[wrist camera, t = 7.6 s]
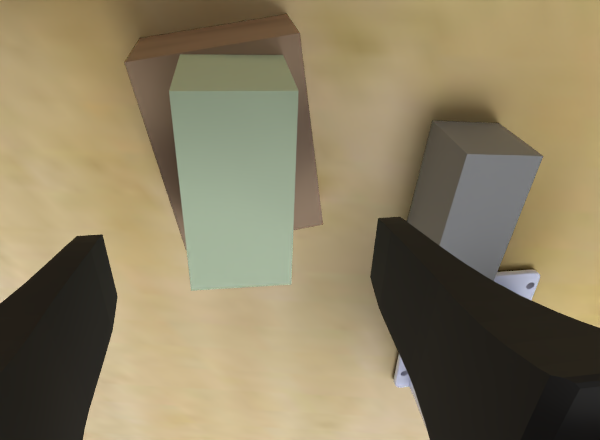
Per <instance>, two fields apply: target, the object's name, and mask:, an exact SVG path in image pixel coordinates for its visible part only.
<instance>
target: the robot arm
mask: <svg viewBox="0 0 600 440" xmlns="http://www.w3.org/2000/svg"><path fill="white" fill-rule="evenodd" d="M370 277H371V281H372V285H373V288H374V292H375V296H376V299H377V302H378V306H379V309H380V311H381V313H382V316H383V318H384V320H385V323H386V325H387V327H388V330H389V332H390V334H391V336H392V339H393V341H394V343H395V345H396V348H397V350H398V352H399V356H398V361H397V366H396V371H395V376H394V383H395V385H396V386H397V387H409V386H410V389H411V391H412V394H413V396H414V399H415V401H416V404H417V406H418V409H419V411H420V414H421V416H422V419H423V421H424V424H425V426H426V428H427V431H428V434H429V438H430V440H600V328H598V327H595V326H592V325H589V324H587V323H584V322H581V321H578V320H576V319H573V318H571V317H568V316H566V315H563V314H561V313H558V312H556V311H554V310H551V309H549V308H547V307H545V306H542V305H540V304H538V303H535V302H533V301H531V300H532V297H533V295H534V292H535V290H536V287H537V284H538V282H539V279H540V275H539V273H538V272H537V271H536V270H532V269H531V270H518V271H505V272H497V274H496V277H495V279H494V281H493V280H491V279H489V278H488V277H486V276H484V275H483V274H481V273H480V272H478V271H476V270H475V269H473V268H472V267H470V266H468V265H467V264H465V263H464V262H462V261H461V260H459V259H458V258H456V257H455V256H453V255H452V254H451V253H449V252H448V251H446V250H445V249H444V248H442V247H441V246H439V245H438V244H437V243H435V242H434V241H433V240H431V239H430V238H428V237H427V236H426V235H424V234H423V233H422V232H420V231H419V230H418V229H416V228H415V227H414V226H412V225H411V224H409V223H408V222H407V221H405V220H404V219H402V218H401V217H391V218H378V224H377V231H376V239H375V246H374V254H373V261H372V269H371V276H370ZM116 303H117V292H116V288H115V284H114V280H113V276H112V272H111V268H110V264H109V260H108V256H107V251H106V247H105V243H104V239H103V235H88V236H77V237H76V238H74V239H73V240H72V241H71V242H70V243H69V244H67V245H66V246H65V247H64V248H63V249H62V250H61V251H60V252H59V253H58V254H57V255H56V256H55V257H53V258H52V259H51V260H50V261H49V262H48V263H47V264H46V265H45V266H44V267H43V268H41V269H40V270H39V271H38V272H37V273H36V274H35V275H34V276H33V277H31V278H30V279H29V280H28V281H27V282H26V283H25V284H24V285H22V286H21V287H20V288H19V289H18V290H16V291H15V292H14V293H13V294H11V295H10V296H9V297H8V298H7V299H5V300H4V301H3V302H2V303H0V440H83V435H84V429H85V425H86V420H87V416H88V412H89V408H90V405H91V402H92V398H93V395H94V392H95V388H96V385H97V382H98V378H99V375H100V372H101V368H102V365H103V362H104V358H105V355H106V351H107V348H108V344H109V341H110V337H111V334H112V330H113V324H114V318H115V311H116Z"/></svg>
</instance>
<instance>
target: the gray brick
mask: <svg viewBox="0 0 600 440" xmlns="http://www.w3.org/2000/svg"><path fill="white" fill-rule="evenodd" d="M542 158H543V156H542V155H541V154H540V153H538V152H537V151H536V150H534V149H533V148H532V147H530V146H529V145H528V144H526V143H525V142H524V141H522V140H521V139H520V138H518V137H517V136H515V135H514V134H513V133H511V132H510V131H509V130H507V129H506V128H505V127H503V126H502V125H501V124H499V123H482V122H457V121H432V124H431V128H430V132H429V136H428V140H427V144H426V148H425V152H424V156H423V160H422V164H421V168H420V172H419V176H418V180H417V184H416V188H415V192H414V196H413V200H412V204H411V208H410V212H409V216H408V220H407V222H408V223H409V224H411V225H412V226H414V227H415V228H416V229H418V230H419V231H420V232H422V233H423V234H424V235H426V236H427V237H428V238H430V239H431V240H433V241H434V242H435V243H437V244H438V245H439V246H441V247H442V248H444V249H445V250H446V251H448V252H449V253H451V254H452V255H453V256H455V257H456V258H458V259H459V260H461V261H462V262H464V263H465V264H467V265H468V266H470V267H472V268H473V269H475V270H476V271H478V272H480V273H481V274H483V275H484V276H486V277H488V278H489V279H491V280H493V281H494V279H495V277H496V274H497V272H498V269H499V266H500V264H501V261H502V259H503V256H504V254H505V251H506V249H507V246H508V244H509V241H510V239H511V236H512V234H513V231H514V229H515V226H516V223H517V221H518V218H519V216H520V213H521V211H522V208H523V206H524V203H525V201H526V198H527V196H528V193H529V191H530V188H531V186H532V183H533V181H534V178H535V175H536V173H537V170H538V168H539V165H540V163H541V160H542Z"/></svg>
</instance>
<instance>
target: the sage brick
mask: <svg viewBox="0 0 600 440" xmlns="http://www.w3.org/2000/svg"><path fill="white" fill-rule="evenodd" d="M169 96H170V105H171V114H172V123H173V132H174V140H175V149H176V158H177V167H178V176H179V185H180V194H181V203H182V212H183V221H184V230H185V239H186V248H187V257H188V266H189V275H190V284H191V291H192V290H209V289H225V288H241V287H258V286H274V285H291V279H292V252H293V225H294V199H295V172H296V145H297V118H298V88H297V86H296V84H295V81H294V79H293V77H292V74H291V72H290V70H289V68H288V65H287V63H286V61H285V58H284V56H283V55H212V54H180V56H179V59H178V63H177V66H176V69H175V73H174V76H173V79H172V83H171V86H170V90H169Z"/></svg>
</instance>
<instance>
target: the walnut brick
mask: <svg viewBox="0 0 600 440" xmlns="http://www.w3.org/2000/svg"><path fill="white" fill-rule="evenodd" d="M180 54H212V55H283V56H284V58H285V61H286V63H287V65H288V68H289V70H290V72H291V74H292V77H293V79H294V81H295V84H296V86H297V88H298V118H297V145H296V172H295V199H294V225H293V230H297V229H302V228H307V227H313V226H318V225H323V220H322V212H321V203H320V195H319V187H318V179H317V171H316V162H315V154H314V146H313V138H312V129H311V121H310V113H309V105H308V96H307V88H306V80H305V72H304V63H303V55H302V47H301V39H300V33H299V31H298V30H297V28H296V27H295V25H294V24H293V22H292V21H291V19H290V18H289V16H288V15H287V14H284V15H278V16H271V17H265V18H259V19H253V20H247V21H241V22H235V23H229V24H223V25H217V26H211V27H205V28H199V29H193V30H187V31H181V32H175V33H168V34H162V35H156V36H150V37H144V38H140V39H139V40H138V42H137V43H136V45H135V46H134V48H133V50H132V51H131V53H130V54H129V56H128V57H127V59H126V61H125V62H124V63H125V66H126V69H127V72H128V75H129V78H130V81H131V84H132V87H133V90H134V93H135V96H136V99H137V102H138V105H139V109H140V112H141V115H142V118H143V121H144V124H145V127H146V130H147V133H148V136H149V139H150V142H151V145H152V148H153V151H154V154H155V157H156V160H157V163H158V166H159V169H160V172H161V175H162V179H163V182H164V185H165V188H166V191H167V194H168V197H169V200H170V203H171V206H172V209H173V212H174V215H175V218H176V221H177V224H178V227H179V230H180V233H181V236H182V239H183V242H184V245H185V249H186V250H187V248H186V239H185V230H184V221H183V212H182V203H181V194H180V185H179V176H178V167H177V158H176V149H175V140H174V132H173V123H172V114H171V105H170V96H169V90H170V86H171V83H172V79H173V76H174V73H175V69H176V66H177V63H178V59H179V56H180Z"/></svg>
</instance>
